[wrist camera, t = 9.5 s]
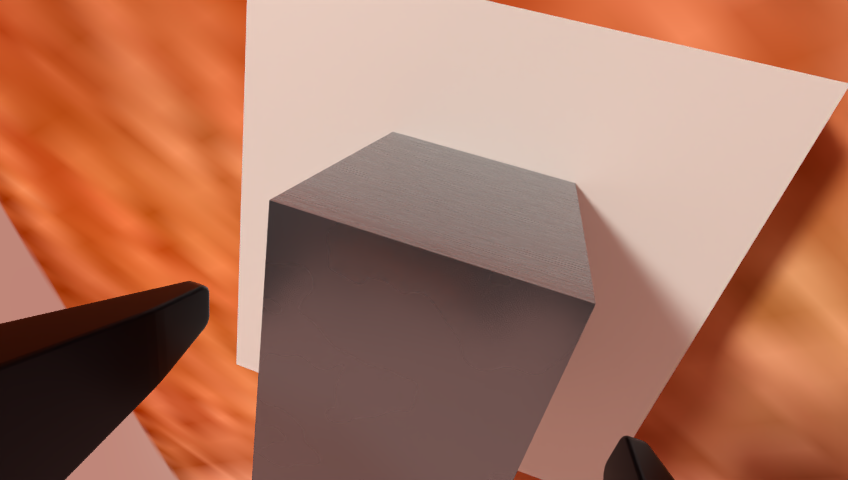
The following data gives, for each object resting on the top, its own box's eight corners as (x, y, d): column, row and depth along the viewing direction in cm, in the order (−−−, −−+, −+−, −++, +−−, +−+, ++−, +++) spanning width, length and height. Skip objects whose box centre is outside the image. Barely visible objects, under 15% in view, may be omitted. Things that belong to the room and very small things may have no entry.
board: (792, 76, 11) (850, 83, 9) (589, 442, 18) (595, 500, 15) (298, -38, 13) (248, -55, 11) (272, 328, 20) (236, 364, 17)
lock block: (575, 183, 11) (596, 303, 6) (497, 382, 15) (467, 577, 9) (392, 131, 12) (269, 200, 7) (356, 332, 15) (251, 487, 10)
